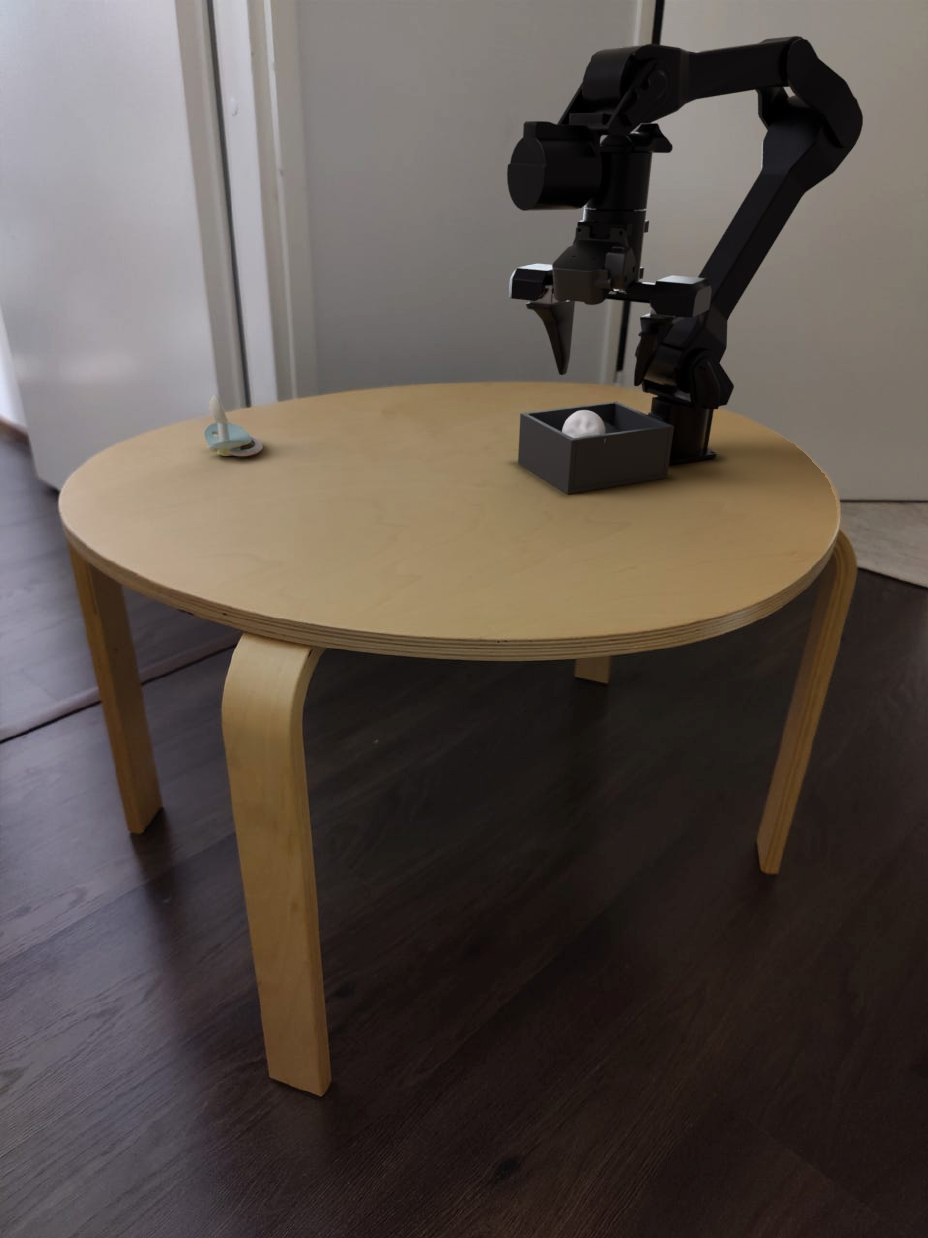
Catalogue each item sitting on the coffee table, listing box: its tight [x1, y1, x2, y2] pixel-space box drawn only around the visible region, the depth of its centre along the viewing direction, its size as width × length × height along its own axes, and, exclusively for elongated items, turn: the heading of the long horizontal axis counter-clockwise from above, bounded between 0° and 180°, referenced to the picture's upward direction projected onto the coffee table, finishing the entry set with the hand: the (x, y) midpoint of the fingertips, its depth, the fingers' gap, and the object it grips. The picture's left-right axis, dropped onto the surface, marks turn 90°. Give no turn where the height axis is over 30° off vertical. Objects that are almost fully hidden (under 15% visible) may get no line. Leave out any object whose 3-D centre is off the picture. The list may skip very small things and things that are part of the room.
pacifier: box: [203, 394, 263, 457], centre depth 94 cm, size 7×6×6 cm
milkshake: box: [562, 410, 618, 443], centre depth 89 cm, size 4×5×10 cm
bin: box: [517, 401, 674, 495], centre depth 90 cm, size 12×10×6 cm
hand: (599, 379), depth 87 cm, fingers open, 8 cm apart
